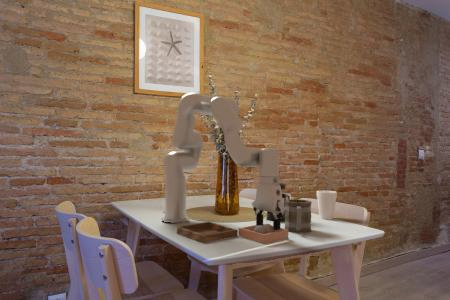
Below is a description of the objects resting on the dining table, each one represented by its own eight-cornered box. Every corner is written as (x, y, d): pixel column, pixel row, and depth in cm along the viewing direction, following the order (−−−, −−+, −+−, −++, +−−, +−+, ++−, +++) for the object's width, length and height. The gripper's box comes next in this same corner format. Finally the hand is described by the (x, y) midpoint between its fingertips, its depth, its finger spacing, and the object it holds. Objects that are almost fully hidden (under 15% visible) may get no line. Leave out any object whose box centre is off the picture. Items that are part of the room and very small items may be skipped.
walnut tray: (176, 234, 131) (176, 226, 131) (209, 228, 140) (209, 221, 140) (203, 244, 117) (203, 236, 117) (237, 237, 127) (237, 229, 127)
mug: (284, 226, 146) (284, 198, 146) (310, 228, 145) (310, 199, 145) (284, 235, 131) (284, 204, 131) (313, 237, 129) (313, 205, 129)
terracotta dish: (238, 237, 127) (238, 228, 127) (262, 232, 136) (263, 223, 136) (263, 245, 117) (263, 235, 117) (288, 239, 126) (288, 229, 126)
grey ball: (259, 235, 128) (259, 223, 128) (267, 238, 125) (268, 226, 125) (250, 236, 126) (251, 225, 126) (259, 239, 122) (259, 227, 122)
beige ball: (267, 233, 131) (267, 222, 131) (275, 236, 128) (276, 224, 128) (259, 235, 128) (259, 223, 128) (267, 237, 125) (268, 225, 125)
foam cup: (316, 219, 162) (316, 192, 162) (316, 216, 171) (316, 190, 171) (337, 220, 160) (337, 193, 160) (335, 217, 169) (336, 190, 169)
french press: (261, 219, 160) (262, 170, 160) (270, 216, 168) (270, 170, 168) (285, 222, 154) (285, 172, 154) (292, 219, 162) (293, 171, 162)
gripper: (293, 182, 124) (292, 230, 124) (259, 178, 137) (258, 222, 137) (279, 183, 119) (278, 233, 119) (245, 179, 132) (244, 224, 133)
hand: (268, 227), depth 128 cm, fingers open, 8 cm apart
